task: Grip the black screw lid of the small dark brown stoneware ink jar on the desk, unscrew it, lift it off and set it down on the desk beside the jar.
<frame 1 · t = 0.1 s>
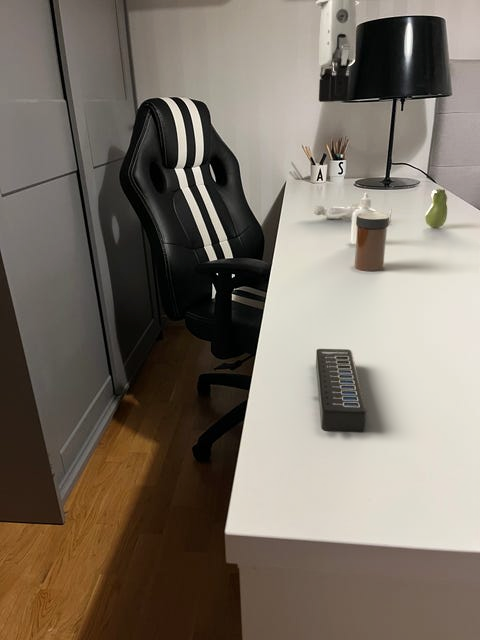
hand: (332, 101, 94), 31 cm above the table, tool pointing down, fingers open, 9 cm apart
male figure: (351, 220, 146), on the table
pear: (434, 227, 135), on the table
jar: (368, 267, 103), on the table
multiport hub: (337, 395, 58), on the table
lid: (372, 218, 99), point 10 cm above the table, screwed on, not yet turned
eye dropper bottle: (362, 244, 120), on the table
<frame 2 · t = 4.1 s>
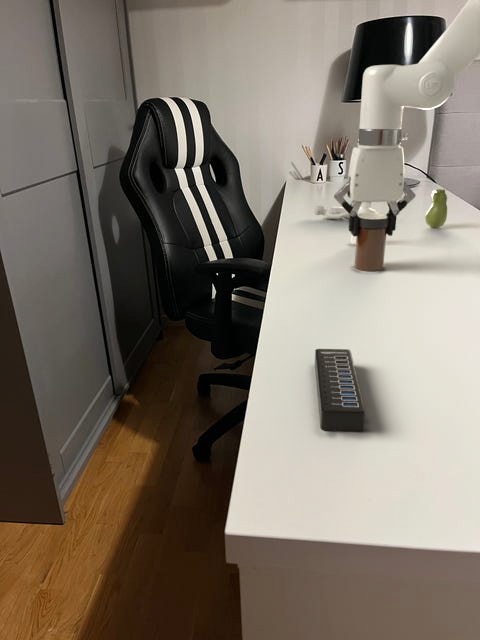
hand: (371, 233, 100), 7 cm above the table, tool pointing down, fingers closed on lid, 6 cm apart
lid: (372, 218, 99), point 10 cm above the table, screwed on, not yet turned, touching gripper
everything else where it was.
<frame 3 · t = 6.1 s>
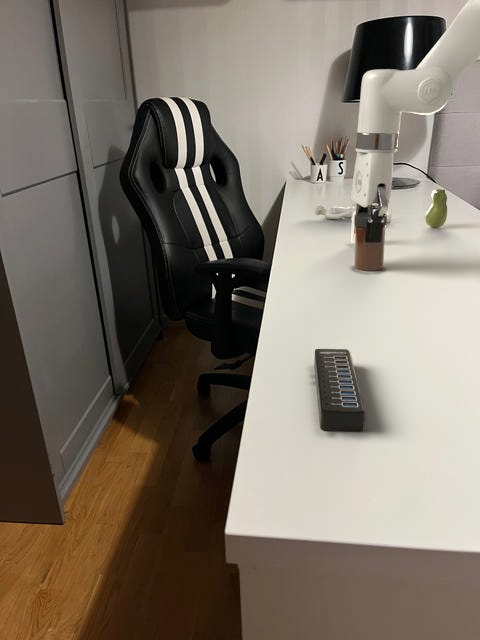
hand: (367, 237, 100), 6 cm above the table, tool pointing down, fingers closed on lid, 6 cm apart
jar: (368, 266, 103), on the table, touching gripper
lid: (370, 217, 99), point 10 cm above the table, turned 94° so far, risen 0.1 cm, still on its thread, touching gripper
everything else where it was.
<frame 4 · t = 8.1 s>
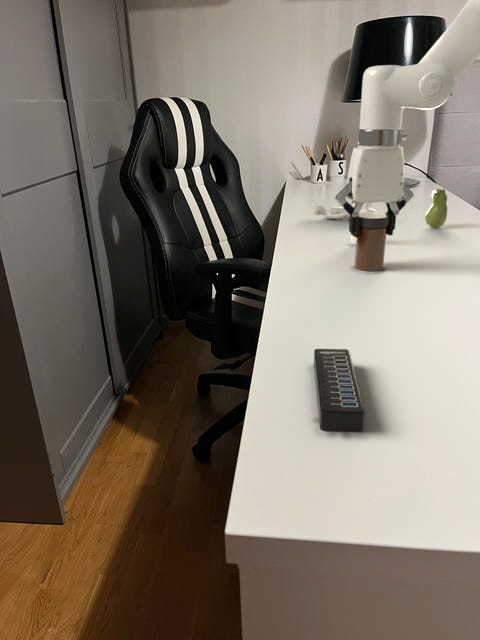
hand: (371, 234, 100), 7 cm above the table, tool pointing down, fingers closed on lid, 6 cm apart
jar: (368, 267, 103), on the table
lid: (372, 217, 99), point 10 cm above the table, turned 103° so far, risen 0.1 cm, still on its thread, touching gripper
everything else where it was.
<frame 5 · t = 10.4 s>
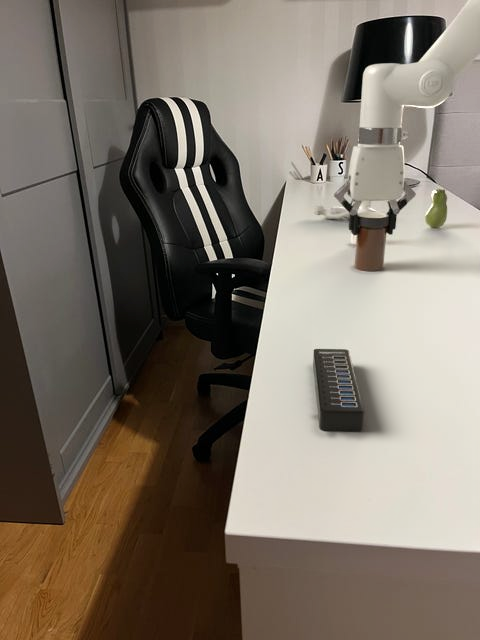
hand: (371, 232, 100), 7 cm above the table, tool pointing down, fingers closed on lid, 6 cm apart
lid: (372, 216, 99), point 10 cm above the table, turned 189° so far, risen 0.3 cm, still on its thread, touching gripper
everything else where it was.
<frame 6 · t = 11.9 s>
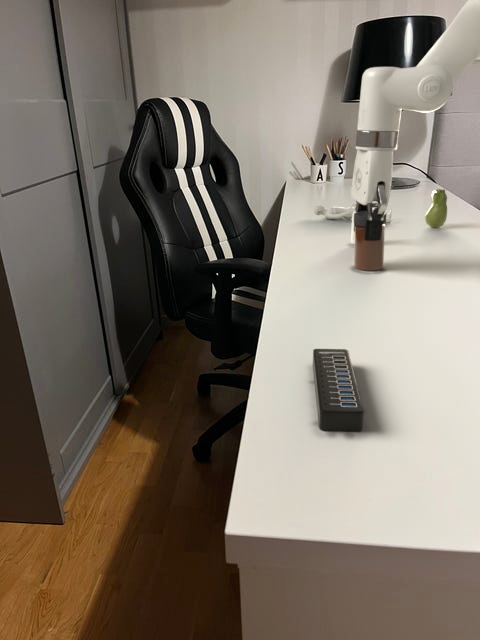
hand: (366, 235, 100), 7 cm above the table, tool pointing down, fingers closed on lid, 6 cm apart
jar: (368, 266, 103), on the table, touching gripper
lid: (370, 215, 99), point 11 cm above the table, turned 282° so far, risen 0.4 cm, still on its thread, touching gripper
everything else where it was.
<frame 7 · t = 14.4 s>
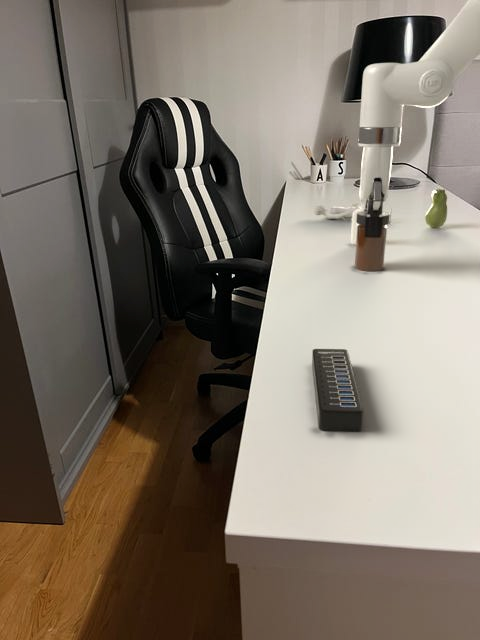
hand: (371, 232, 100), 7 cm above the table, tool pointing down, fingers closed on lid, 6 cm apart
jar: (368, 267, 103), on the table
lid: (372, 215, 99), point 11 cm above the table, off its thread, touching gripper
everything else where it was.
when the fingers open (1 cm above the table, at t = 22.7 s): lid drops 3 cm, point 1 cm above the table.
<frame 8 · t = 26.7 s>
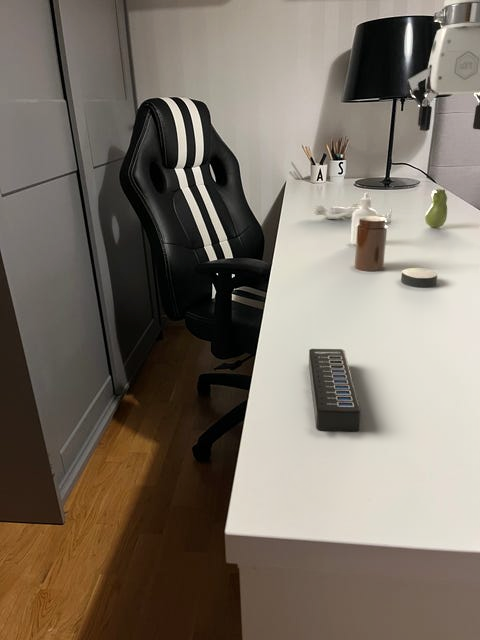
hand: (451, 129, 90), 26 cm above the table, tool pointing down, fingers open, 9 cm apart
lid: (419, 274, 93), point 1 cm above the table, off its thread
everything else where it was.
at the end: lid came off its thread; lid point 1.4 cm above the table; the gripper is holding nothing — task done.
